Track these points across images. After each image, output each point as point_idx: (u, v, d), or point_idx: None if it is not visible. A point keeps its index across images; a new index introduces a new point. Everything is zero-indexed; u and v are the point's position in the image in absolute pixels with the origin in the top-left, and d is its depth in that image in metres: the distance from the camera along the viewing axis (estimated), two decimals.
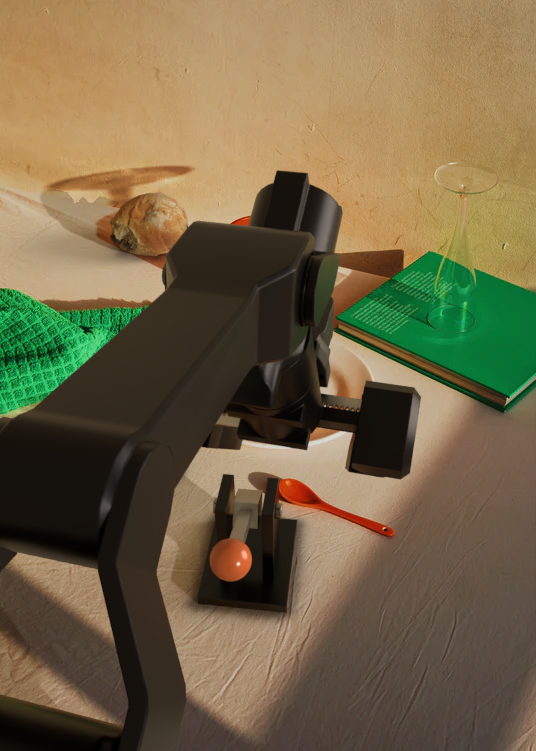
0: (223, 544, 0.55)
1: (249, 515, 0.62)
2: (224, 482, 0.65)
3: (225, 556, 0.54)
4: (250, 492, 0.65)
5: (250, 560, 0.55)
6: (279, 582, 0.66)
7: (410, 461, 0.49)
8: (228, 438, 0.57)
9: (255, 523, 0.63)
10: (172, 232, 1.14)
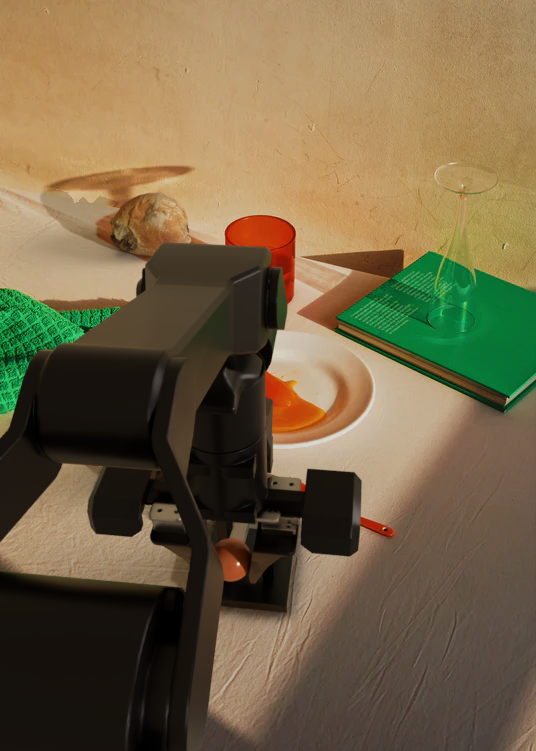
0: (223, 544, 0.55)
1: None
2: None
3: (225, 556, 0.54)
4: None
5: (250, 560, 0.55)
6: (279, 582, 0.66)
7: (358, 529, 0.49)
8: None
9: (255, 523, 0.63)
10: (172, 232, 1.14)
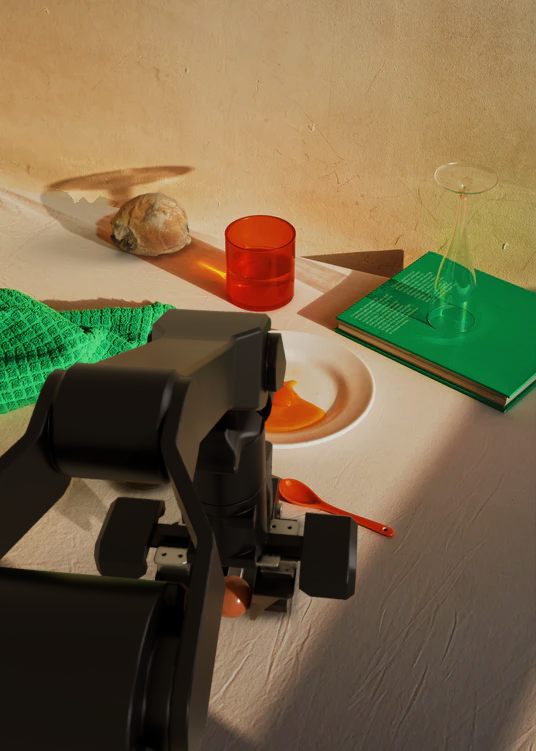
0: None
1: None
2: None
3: (225, 603, 0.56)
4: None
5: (250, 599, 0.57)
6: None
7: (354, 575, 0.51)
8: None
9: None
10: (172, 232, 1.14)
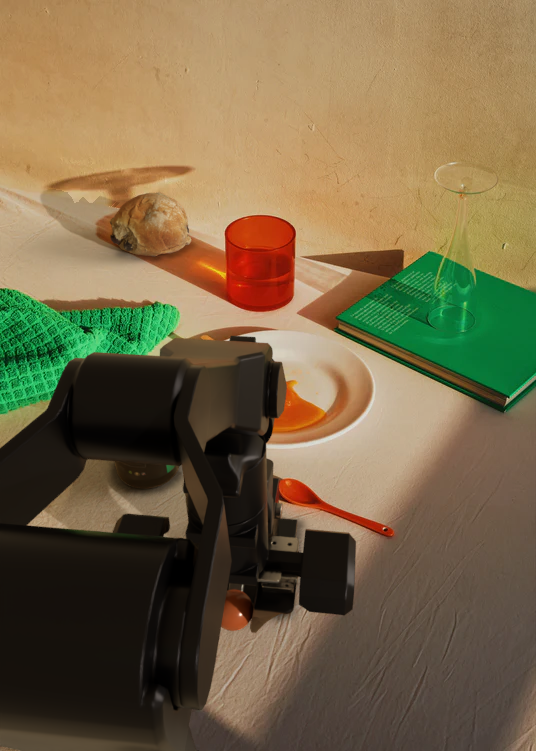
0: (224, 608, 0.58)
1: None
2: None
3: (227, 621, 0.58)
4: None
5: (251, 614, 0.59)
6: None
7: (353, 591, 0.53)
8: None
9: None
10: (172, 232, 1.14)
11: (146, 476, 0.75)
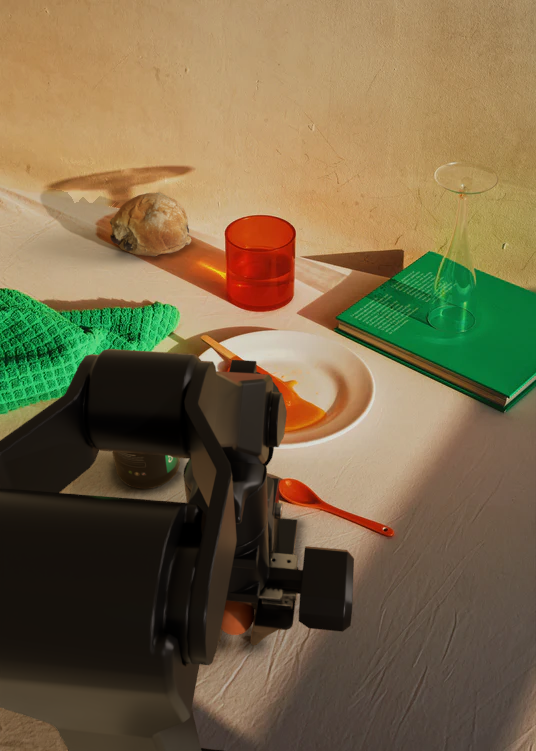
0: (225, 616, 0.59)
1: None
2: None
3: (229, 628, 0.59)
4: None
5: (252, 619, 0.60)
6: None
7: (351, 608, 0.54)
8: None
9: None
10: (172, 232, 1.14)
11: (146, 476, 0.75)
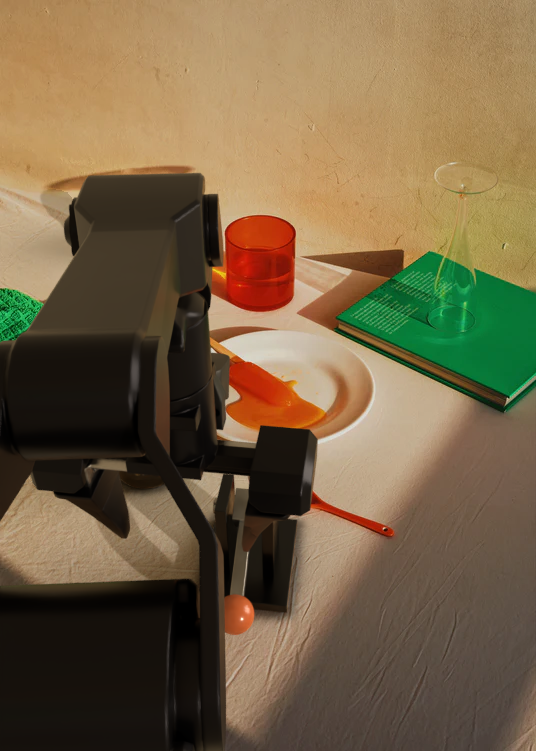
0: (225, 615, 0.59)
1: None
2: (224, 482, 0.65)
3: (229, 628, 0.59)
4: (248, 496, 0.64)
5: (252, 619, 0.60)
6: (279, 582, 0.66)
7: (310, 487, 0.46)
8: (114, 510, 0.52)
9: None
10: None
11: (146, 476, 0.75)
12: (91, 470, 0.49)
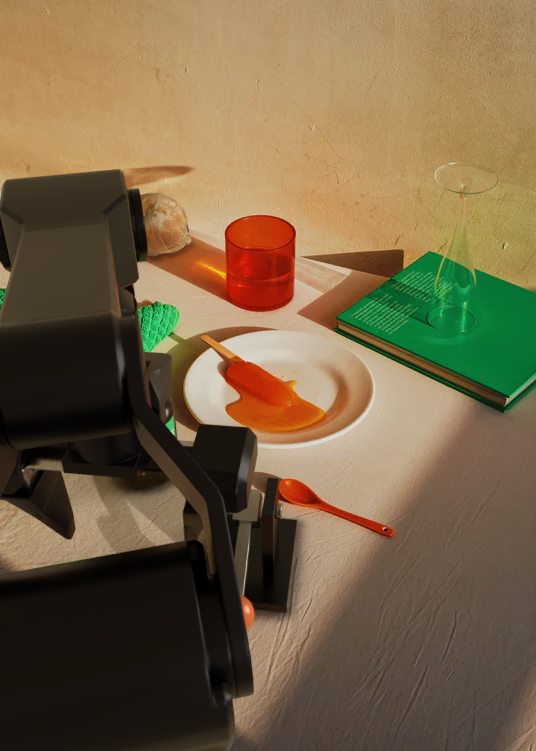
0: None
1: (249, 533, 0.63)
2: None
3: None
4: None
5: (252, 619, 0.60)
6: (279, 582, 0.66)
7: (245, 484, 0.46)
8: (57, 511, 0.52)
9: (256, 526, 0.64)
10: (172, 232, 1.14)
11: (146, 476, 0.75)
12: (30, 471, 0.49)
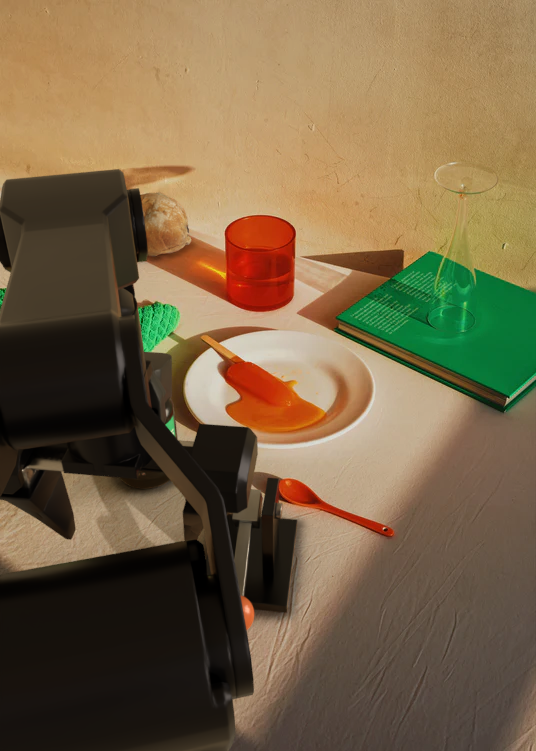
0: None
1: (249, 533, 0.63)
2: None
3: None
4: None
5: (252, 619, 0.60)
6: (279, 582, 0.66)
7: (245, 484, 0.46)
8: (57, 511, 0.52)
9: (256, 526, 0.64)
10: (172, 232, 1.14)
11: (146, 476, 0.75)
12: (30, 471, 0.49)
